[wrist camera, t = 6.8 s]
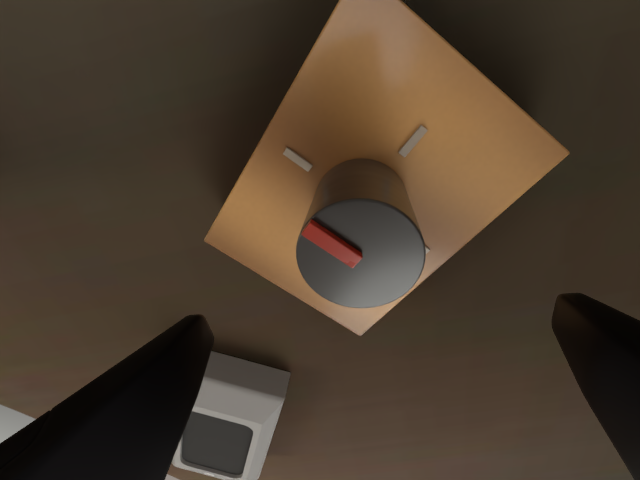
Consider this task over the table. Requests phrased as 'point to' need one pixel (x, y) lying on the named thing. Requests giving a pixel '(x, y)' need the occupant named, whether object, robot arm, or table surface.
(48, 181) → the table surface
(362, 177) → the volume knob
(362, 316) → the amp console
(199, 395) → the grey flat bevelled block
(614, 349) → the robot arm
